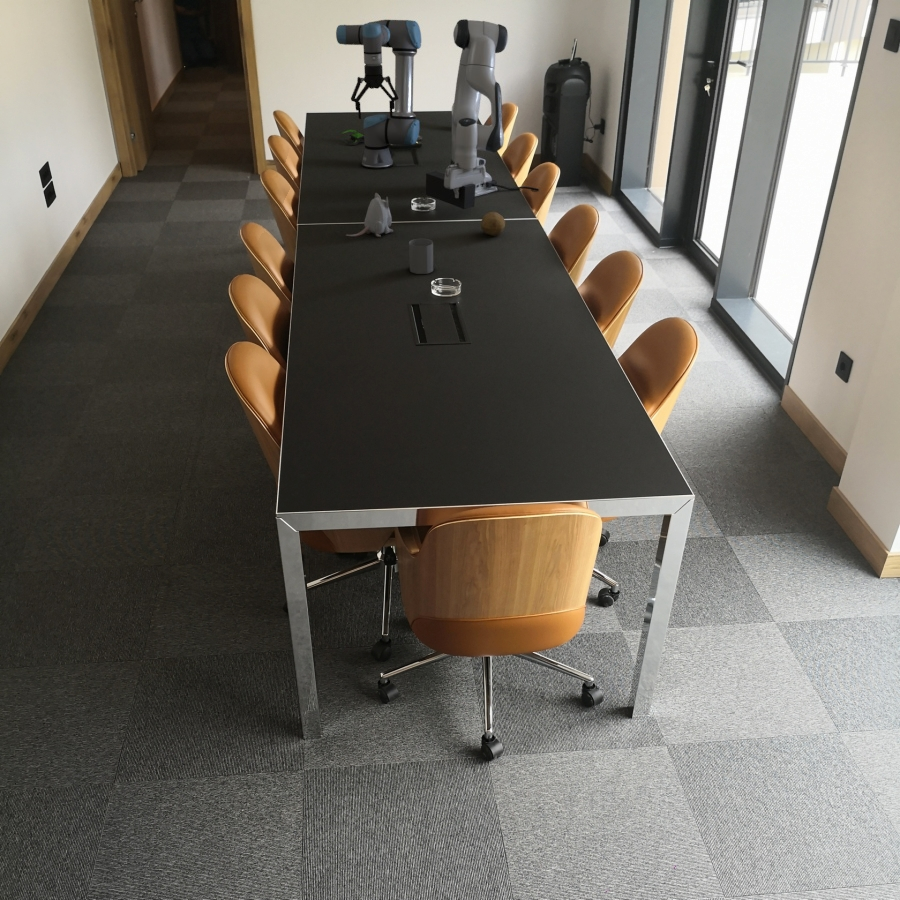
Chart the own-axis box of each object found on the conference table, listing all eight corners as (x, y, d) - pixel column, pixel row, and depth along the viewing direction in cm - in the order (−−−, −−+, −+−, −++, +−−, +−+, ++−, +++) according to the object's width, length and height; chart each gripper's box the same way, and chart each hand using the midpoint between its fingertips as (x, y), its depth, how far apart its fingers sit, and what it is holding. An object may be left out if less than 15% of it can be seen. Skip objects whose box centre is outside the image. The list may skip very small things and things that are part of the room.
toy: (398, 232, 342) (397, 194, 334) (353, 246, 328) (351, 207, 320) (383, 227, 348) (381, 189, 340) (338, 241, 333) (335, 202, 325)
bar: (425, 194, 369) (426, 173, 364) (435, 192, 372) (436, 171, 367) (464, 209, 354) (465, 186, 349) (474, 206, 358) (475, 184, 353)
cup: (409, 265, 311) (408, 238, 306) (432, 265, 312) (431, 238, 307) (410, 274, 304) (409, 246, 299) (433, 273, 305) (433, 246, 299)
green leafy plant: (396, 126, 467) (340, 124, 465) (396, 141, 460) (339, 139, 458) (396, 136, 472) (341, 134, 470) (396, 151, 465) (340, 149, 463)
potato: (502, 228, 347) (503, 208, 342) (507, 239, 335) (507, 219, 331) (478, 228, 346) (478, 208, 342) (481, 240, 334) (482, 219, 330)
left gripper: (344, 66, 357) (347, 120, 369) (404, 65, 361) (405, 118, 373) (342, 63, 364) (345, 116, 375) (401, 62, 368) (402, 114, 379)
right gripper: (451, 167, 340) (450, 202, 348) (488, 159, 352) (486, 193, 360) (441, 164, 344) (440, 198, 352) (477, 156, 356) (476, 190, 364)
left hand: (375, 117), depth 374 cm, fingers open, 13 cm apart
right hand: (464, 196), depth 356 cm, fingers closed on bar, 6 cm apart
